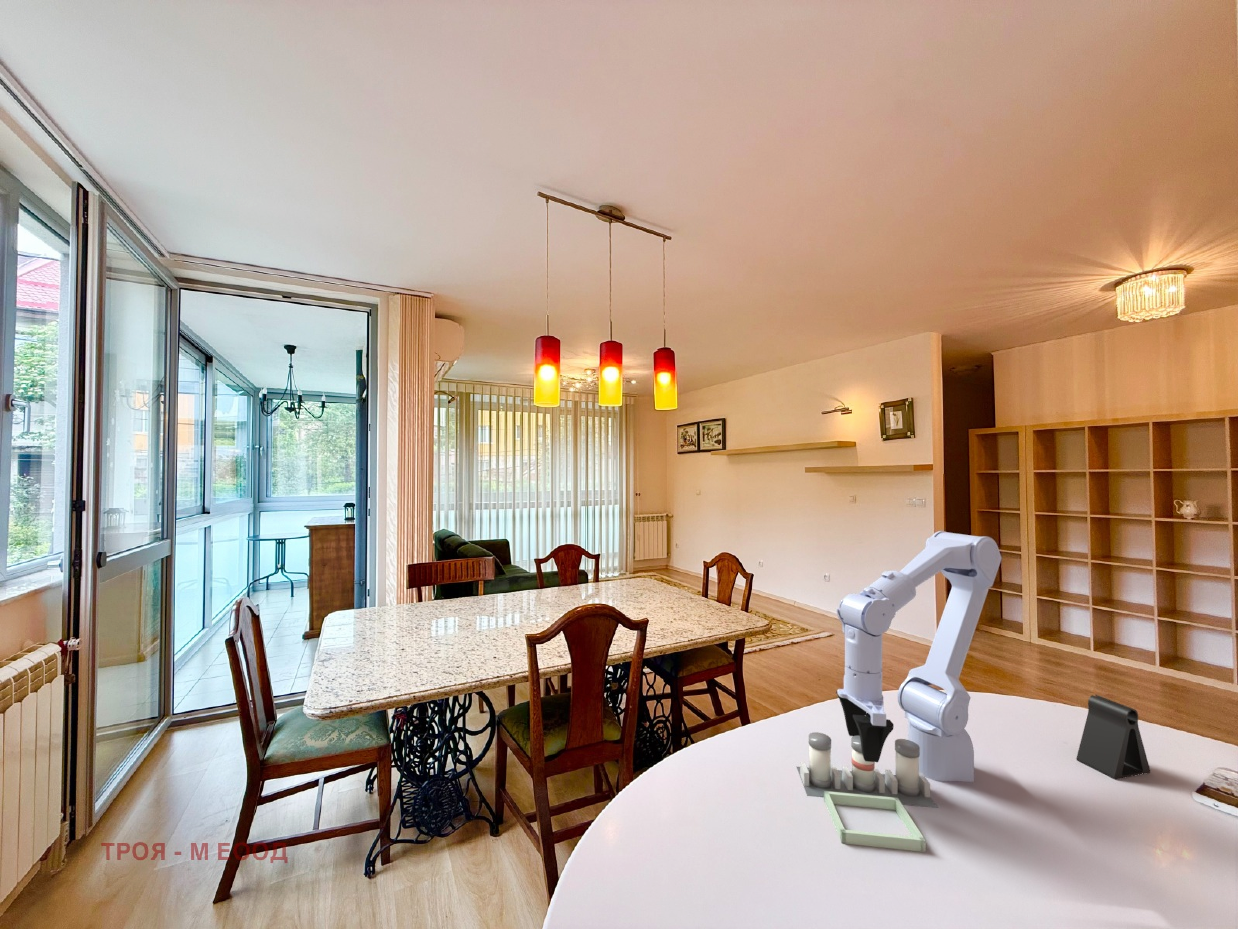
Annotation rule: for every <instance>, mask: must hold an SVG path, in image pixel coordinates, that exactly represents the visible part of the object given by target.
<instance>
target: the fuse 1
mask: <svg viewBox="0 0 1238 929" xmlns="http://www.w3.org/2000/svg"><path fill="white" fill-rule="evenodd" d="M808 745H809V746H808V752H809V754H808V759H809V760H808V768H809V782H810V783H811V784H812V785H813V786H815V787H818V788H822V789H826V788H829V787H831V765H832V764H831V760H832V757H831V756H832V754H831V752H832V751H831V749H832V739H831V737H830V736H829V735H827V734H826V733H822V732H816V731H814V732H813V731H812V732H810V733H809V734H808Z"/></svg>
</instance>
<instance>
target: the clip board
mask: <svg viewBox="0 0 1238 929" xmlns="http://www.w3.org/2000/svg"><path fill="white" fill-rule="evenodd" d="M796 769H797V771H798V774H799V775H798V776H799V778H800V780H801V783H802V785H803V788H804V791H805V793H806V796H807V797H817V798H824V791H829V792H840V793H851V794H861V795H872V796H883V797H894V798H898V799H899V800H900V802H901V804H902V805H903V806H912V807H913V806H915V807H926V808H937V809H939V806H938V805H937V804H936V802H935V801H934V800H933V798H932V797H931V783H930V782H929V781H928V778H926V777H924V775H923V774H922V773H919V785H920V794H919V796H916V797H910V796H906V795H904V794H902V793H900V792H898V781H897V779H896V778H895V774H894V773H893V772H892V771H891V769H885V770H884V773H881V771H879V769H878V768H874V780H875V790H874V791H873V792H871V793H866V792H862V791H859V790H857V789H855V788H854V787H853V776H852V770H850V769H849V768H848V766H846V765H842V767H841V769H837V766H836V765H834V764H831V787H829V788H826V789H822V788H818V787H815V786H813V785H812V784H811V783H810V782H809V766H808V767H807V765H806V762H800V763H799V766H796Z"/></svg>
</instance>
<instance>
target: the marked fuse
mask: <svg viewBox="0 0 1238 929" xmlns="http://www.w3.org/2000/svg"><path fill="white" fill-rule="evenodd" d="M850 740H851V743H850V744H851V745H850V746H851V771H852V776H853V787H854V788H855V789H857V790H859V791H862V792H866V793H871V792H873V791H874V790H875V780H874V769H876V768H875V767H876V766H875V764H876V762H868V761H865V760H864V758H863V754H862V748H861V740H860V736H851V739H850Z"/></svg>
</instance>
